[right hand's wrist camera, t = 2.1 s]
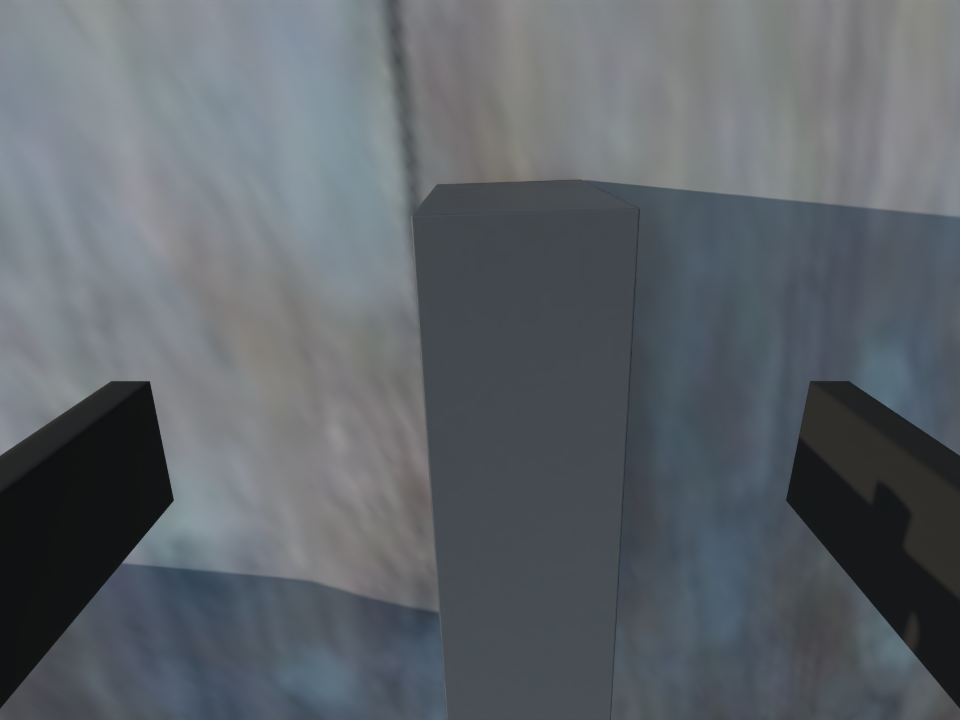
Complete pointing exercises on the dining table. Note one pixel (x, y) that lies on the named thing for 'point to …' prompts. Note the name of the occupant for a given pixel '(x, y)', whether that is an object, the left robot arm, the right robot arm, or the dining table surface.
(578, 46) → the dining table surface
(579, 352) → the box
